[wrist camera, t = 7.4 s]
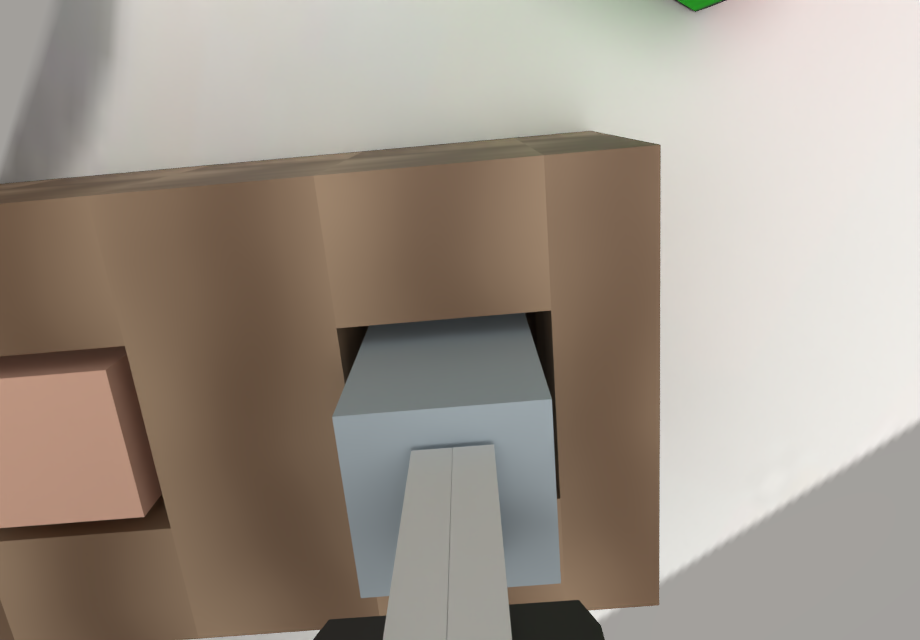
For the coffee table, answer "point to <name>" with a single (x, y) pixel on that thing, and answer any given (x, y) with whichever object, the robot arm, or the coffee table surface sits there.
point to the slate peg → (448, 435)
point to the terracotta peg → (72, 439)
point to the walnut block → (328, 364)
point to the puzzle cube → (699, 3)
